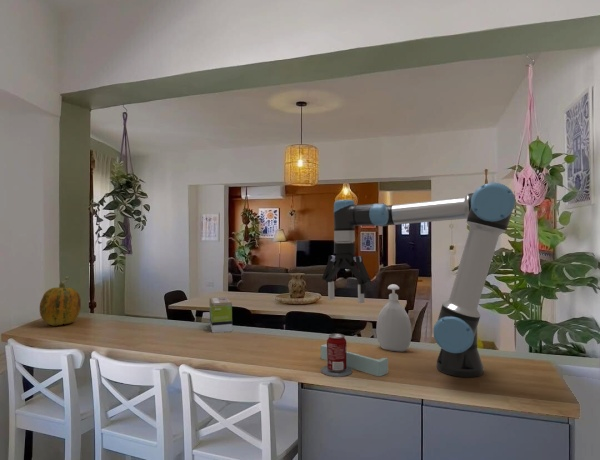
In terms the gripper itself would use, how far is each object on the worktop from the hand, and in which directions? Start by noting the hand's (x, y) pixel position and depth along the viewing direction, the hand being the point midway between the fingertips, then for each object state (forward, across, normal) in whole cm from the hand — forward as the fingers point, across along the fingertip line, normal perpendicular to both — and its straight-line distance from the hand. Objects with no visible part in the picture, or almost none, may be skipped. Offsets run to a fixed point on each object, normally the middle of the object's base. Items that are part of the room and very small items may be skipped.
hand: (345, 301), depth 147 cm
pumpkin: (+21, +150, +52) cm, 160 cm away
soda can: (+23, -1, +7) cm, 24 cm away
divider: (+23, -1, -1) cm, 23 cm away
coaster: (+23, -1, +7) cm, 24 cm away
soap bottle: (+24, -2, -30) cm, 38 cm away
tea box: (+22, +81, -1) cm, 84 cm away
